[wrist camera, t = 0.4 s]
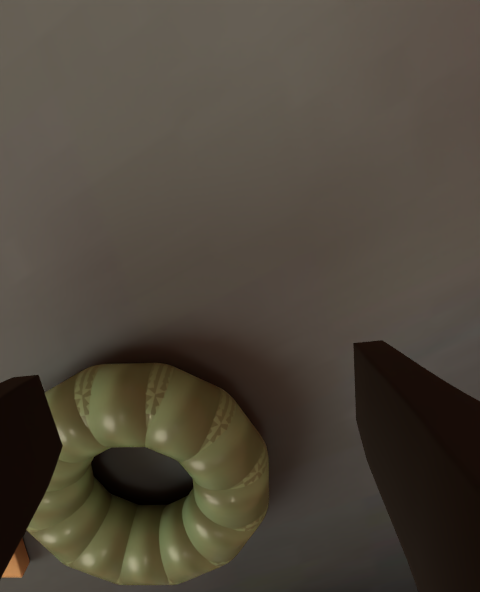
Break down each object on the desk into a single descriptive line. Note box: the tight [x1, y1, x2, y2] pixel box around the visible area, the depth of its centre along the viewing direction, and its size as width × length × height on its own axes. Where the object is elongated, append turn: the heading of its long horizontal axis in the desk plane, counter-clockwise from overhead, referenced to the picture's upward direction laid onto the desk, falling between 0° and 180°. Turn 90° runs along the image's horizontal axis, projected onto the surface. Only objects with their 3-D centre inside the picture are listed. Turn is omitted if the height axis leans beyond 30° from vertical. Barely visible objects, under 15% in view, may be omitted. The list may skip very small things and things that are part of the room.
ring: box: [27, 363, 269, 585], centre depth 21 cm, size 12×12×4 cm
